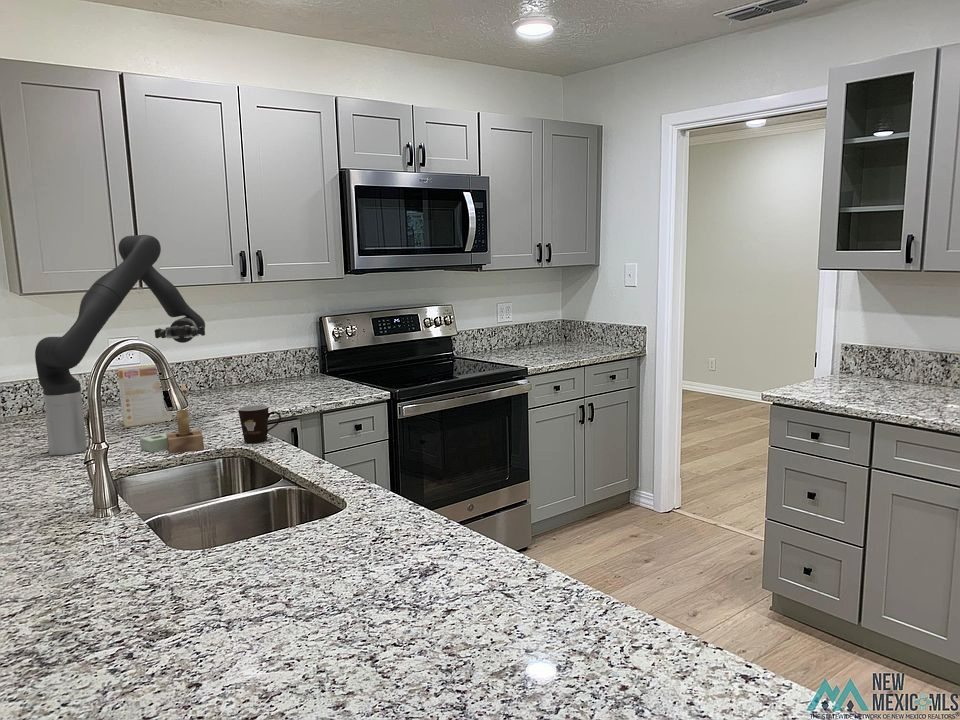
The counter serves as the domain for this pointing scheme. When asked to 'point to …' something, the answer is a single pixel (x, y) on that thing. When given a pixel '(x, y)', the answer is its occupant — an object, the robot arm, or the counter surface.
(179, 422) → the tan wooden bar
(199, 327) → the robot arm
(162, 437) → the bead
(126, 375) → the coffeecake box
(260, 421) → the coffee mug
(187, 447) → the slotted wooden block
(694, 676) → the counter surface
